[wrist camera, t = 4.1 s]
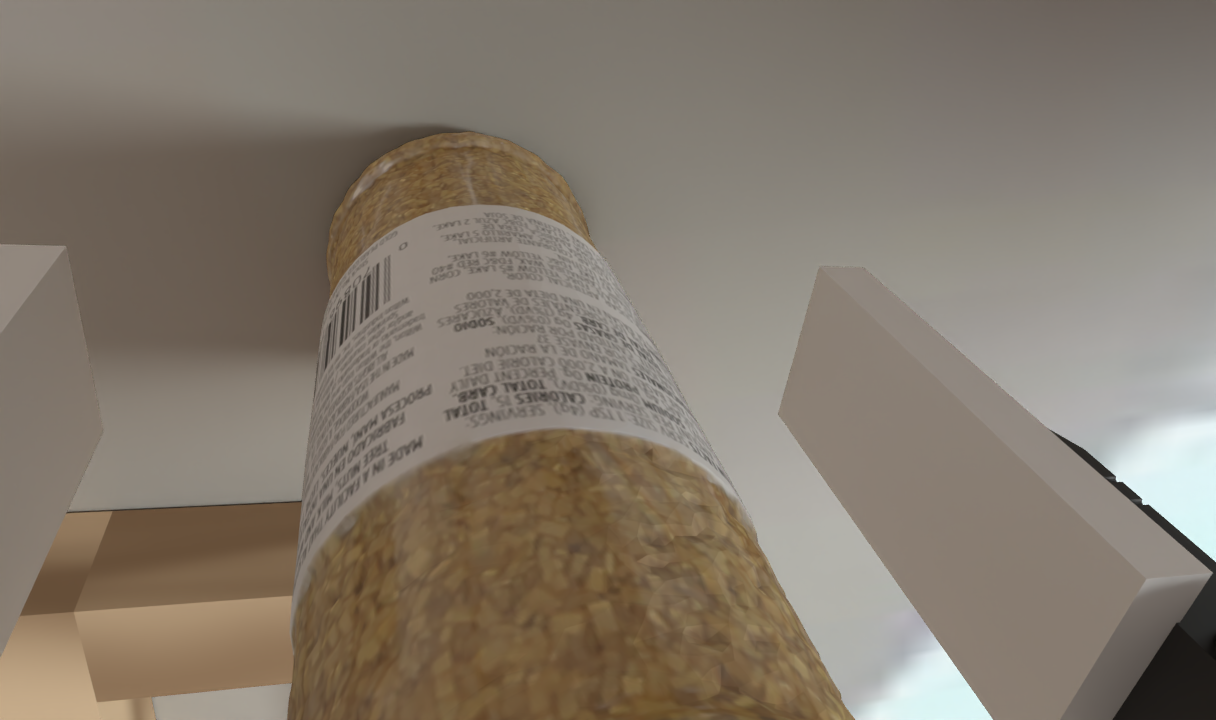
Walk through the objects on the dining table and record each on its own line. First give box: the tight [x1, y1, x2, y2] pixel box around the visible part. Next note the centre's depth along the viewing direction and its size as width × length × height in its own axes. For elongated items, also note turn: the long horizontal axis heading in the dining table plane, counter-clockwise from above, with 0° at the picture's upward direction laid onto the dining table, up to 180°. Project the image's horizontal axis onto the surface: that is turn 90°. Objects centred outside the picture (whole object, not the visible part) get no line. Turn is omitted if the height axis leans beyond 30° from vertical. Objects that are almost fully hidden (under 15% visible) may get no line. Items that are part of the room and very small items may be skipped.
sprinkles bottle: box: [287, 131, 855, 720], centre depth 9 cm, size 5×5×13 cm
